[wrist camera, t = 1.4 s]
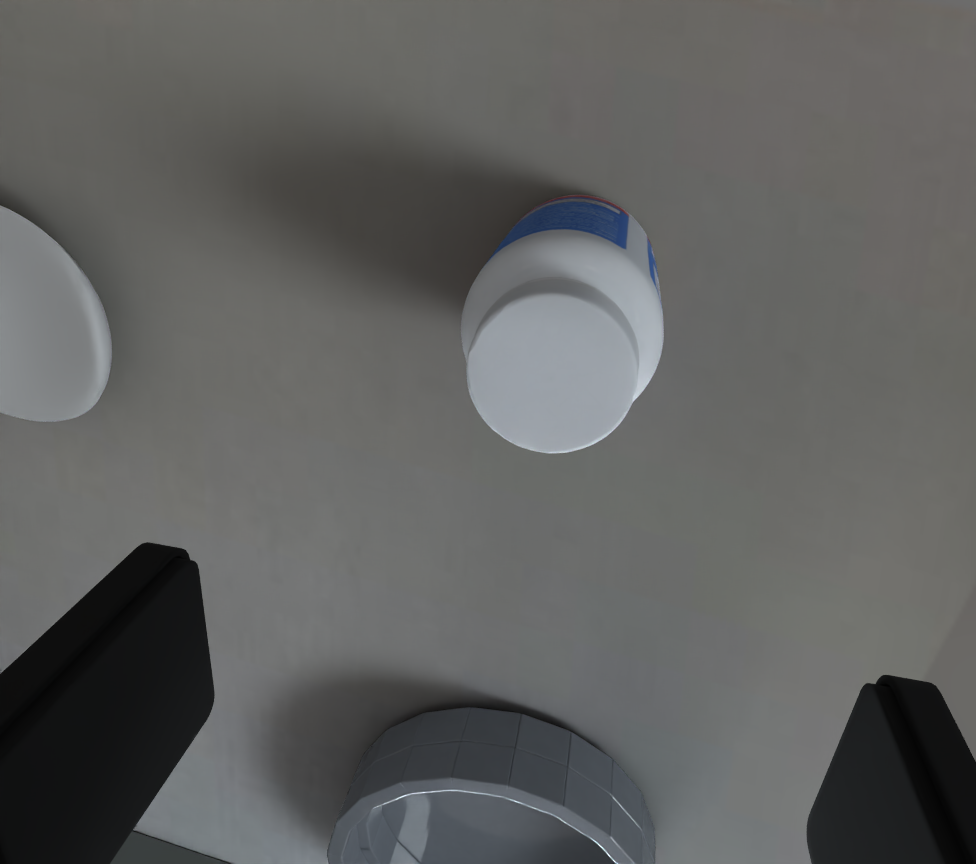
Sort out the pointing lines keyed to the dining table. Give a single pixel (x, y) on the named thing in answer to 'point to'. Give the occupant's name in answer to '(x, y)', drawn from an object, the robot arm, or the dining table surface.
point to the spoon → (47, 328)
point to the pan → (489, 797)
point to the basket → (157, 853)
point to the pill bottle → (563, 325)
